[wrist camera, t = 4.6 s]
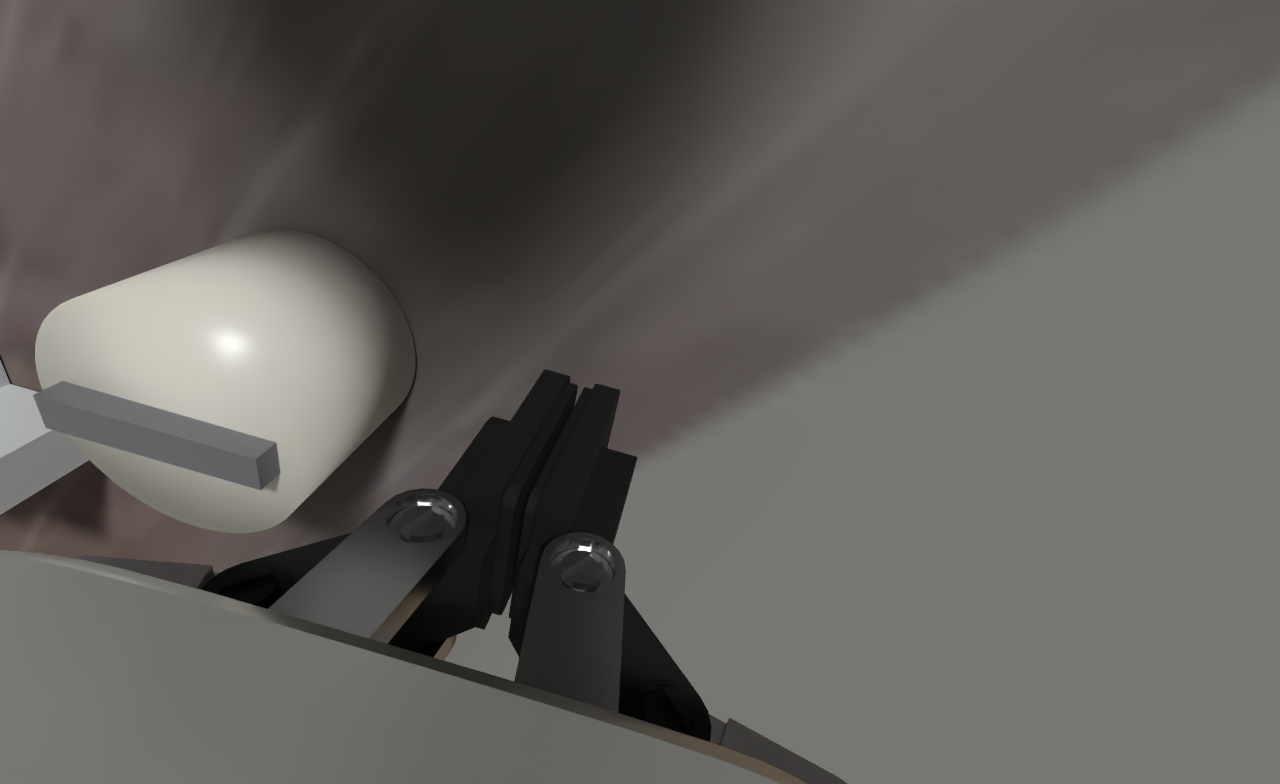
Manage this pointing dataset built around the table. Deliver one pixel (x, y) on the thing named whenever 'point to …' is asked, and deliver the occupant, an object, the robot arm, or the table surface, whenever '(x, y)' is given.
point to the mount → (29, 447)
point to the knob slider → (227, 376)
